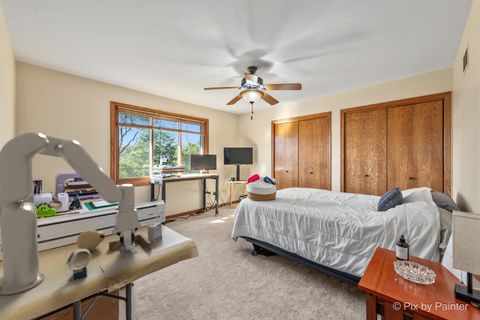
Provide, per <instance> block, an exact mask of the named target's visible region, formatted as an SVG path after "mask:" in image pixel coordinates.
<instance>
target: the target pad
mask: <svg viewBox="0 0 480 320" xmlns="http://www.w3.org/2000/svg"><path fill="white" fill-rule="evenodd" d="M118 250H119V252H120V253H121V254H122V255H123V257H125V258H126V257H128V256H131V255H133V254H137V253H138V251H137V250H136V248H132V249H129V250H126V249H125V248H124V247H123V246H122V247H119V248H118Z"/></svg>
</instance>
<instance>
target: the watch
mask: <svg viewBox="0 0 480 320" xmlns="http://www.w3.org/2000/svg"><path fill="white" fill-rule="evenodd" d="M82 251H83V252H82ZM84 252H86V253H88V256H87V258H86V261H85V262H84V264H80V265H79V264H78V265H75V266H71V265H73V263H74V262H75V260H76V258H77V256H78V254H79V253H84ZM91 259H92V254H91V252H90V250H87V249H79V248H78V249H76V250H75V251H72V252H71V254H70V255H69V257H68V259H67V261H66V265H67V266H68V269H69V270H70V271H72V276H73V281H74V280H75V281H78V280H81V279H83V278H87V277H88V273H87V272H88V269H87V266H88V265H89V263H90V261H91ZM80 278H81V279H80ZM77 279H78V280H77Z"/></svg>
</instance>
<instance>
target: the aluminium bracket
mask: <svg viewBox="0 0 480 320" xmlns="http://www.w3.org/2000/svg"><path fill="white" fill-rule="evenodd" d="M123 236H124V244H122V245H123V246H122V248H123V247H124V248H125V249H126V250H129V249H132V248H134V249H136V243H134V242H133V241H132V230H128V231H124V232H123Z"/></svg>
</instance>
